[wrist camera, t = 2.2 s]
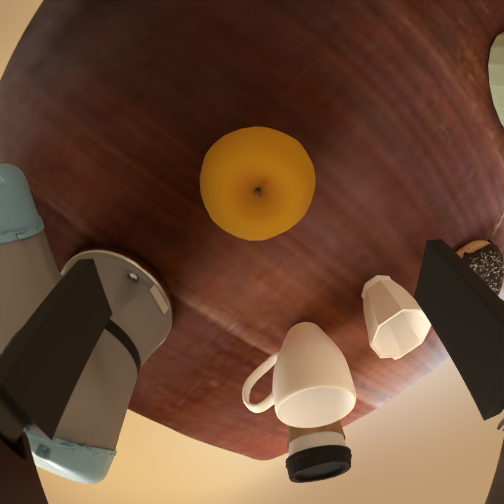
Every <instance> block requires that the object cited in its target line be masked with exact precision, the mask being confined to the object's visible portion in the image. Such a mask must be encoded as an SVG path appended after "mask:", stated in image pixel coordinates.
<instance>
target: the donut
mask: <svg viewBox="0 0 504 504" xmlns="http://www.w3.org/2000/svg"><path fill="white" fill-rule="evenodd" d="M456 253H457V254H458V255H459V256H460V257H461V258H462V259H463V260H464V261H465V262H466V263H467V264H468V265H469V266H470V267H471V268H472V269H473V270H474V271H475V272H476V273H477V274H478V275H479V276H480V277H481V278H482V279H483V280H484V281H485V282H486V284H487V285H488V286H489V287H490V288H491V289H492V290H493V291H494V292H495V293H496V294H497V295H499V293H500V290H501V287H502V283H503V279H504V262H503V256H502V254H501V252H500V250H499V249H498V247H497V246H496V245H495V244H494V243H492V242H491V240H490V239H489V240H488V242H487V241H484V240H477V241H472V242H470V243H468V244H466V245H465V246H463V247H462V248H460V249H459V250H458V251H457V252H456Z"/></svg>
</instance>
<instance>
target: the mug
mask: <svg viewBox="0 0 504 504" xmlns="http://www.w3.org/2000/svg"><path fill="white" fill-rule="evenodd" d="M274 364H275V367H274V373H273V384H272V392H271V394H270V395H269V396H268V397H267V398H266V399H265V400H263V401H262V402H261V403H259V404H251V403H250V402H249V394H250V390H251V388H252V386H253V385H254V384H255V382H256V381H257V380H258V379H259V378H260V377H261V376H262V375H263V374H264V373H265V372H267V371H268V370H269V369H270V368H271V367H272V366H273V365H274ZM242 398H243V401H244V403H245V405H246V406H247V408H248V409H249V410H251V411H252V412H255V413H260V412H263V411H265V410H267V409H268V408H270V407H271V406H272V405H274V404H275V411H276V414H277V417H278V418H279V419H280V420H281V421H282V422H283V423H285V424H287V425H290V426H293V427H299V428H314V427H320V426H324V425H328V424H331V423H333V422H336V421H338V420H340V419H341V418H343V417H344V416H346V415H347V414H348V413H349V412H350V411H351V410H352V409H353V407H354V406H355V403H356V392H355V388H354V385H353V381H352V378H351V374H350V371H349V367H348V364H347V362H346V359H345V357H344V355H343V354H342V352H341V351H340V349H339V348H338V347H337V345H336V344H335V343H334V342H333V341H332V340H331V339H330V338H329V337H328V336H327V335H326V334H325V333H324V332H323V331H322V330H321V329H320V327H319V326H317V325H316V324H314V323H311V322H301V323H298V324H296V325H294V326H293V327H291V328H290V330H289V331H288V333H287V335H286V338H285V340H284V343H283V345H282V347H281V350H280V351H279V352H277V353H275V354H273V355H272V356H270V357H269V358H268V359H267V360H266V361H264V362H263V363H262V364H261V365H260V366H259V367H258V368H257V369H256V370H255V371H254V372H253V373H252V374H251V375H250V376H249V377H248V378H247V380H246V381H245V383H244V386H243V389H242Z"/></svg>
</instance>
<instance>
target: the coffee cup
mask: <svg viewBox="0 0 504 504" xmlns="http://www.w3.org/2000/svg"><path fill="white" fill-rule="evenodd" d="M287 448H288V450H289V457H288V458H287V459H286V468H287V469H288V475H289V479H290V480H291V481H292V482H296V483H304V482H313V481H319V480H325V479H329V478H333V477H336V476H339V475H341V474H343V473H345V472H347V471H348V470H349V469H350V468H351V457H352V455H351V450H350V449H349V448H348V447H346V443H345V435H344V432H343V429H342V426H341V423H340V420H338V421H336V422H333V423H331V424H328V425H324V426H320V427H314V428H299V427H293V426H290V425H288V443H287Z"/></svg>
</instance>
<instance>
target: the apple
mask: <svg viewBox="0 0 504 504" xmlns="http://www.w3.org/2000/svg"><path fill="white" fill-rule="evenodd" d="M199 178H200V191H201V195H202V199H203V202H204V205H205V208H206V209H207V211H208V213H209V215H210V217H211V219H212V220H213V221H214V222H215V223H216V224H217V225H218V226H220V227H221V228H222V229H223V230H224V231H227V232H228V233H230V234H232V235H234V236H236V237H238V238H242V239H245V240H266V239H268V238H271V237H273V236H276V235H278V234H280V233H283V232H285V231H287V230H289V229H290V228H291V227H292V226H294V225H295V224H296V223H298V222H299V221H300V219H301V218H302V217H303V216H304V215H305V213H306V212H307V210H308V208H309V206H310V204H311V201H312V197H313V193H314V190H315V186H316V181H315V173H314V166H313V164H312V162H311V160H310V158H309V156H308V154H307V152H306V150H305V149H304V148H303V147H302V145H301V144H300V143H299V142H298V141H297V140H296V139H294V138H292V137H291V136H289V135H287V134H285V133H282V132H280V131H277V130H274V129H272V128H267V127H248V128H243V129H239V130H236V131H234V132H231V133H229V134H227V135H224V136H223V137H222V138H221V139H219V140H218V141H217V142H216V143H215V144H213V145H212V146H211V148H210V149H209V150H208V152H207V153H206V155H205V158H204V161H203V164H202V168H201V173H200V177H199Z"/></svg>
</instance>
